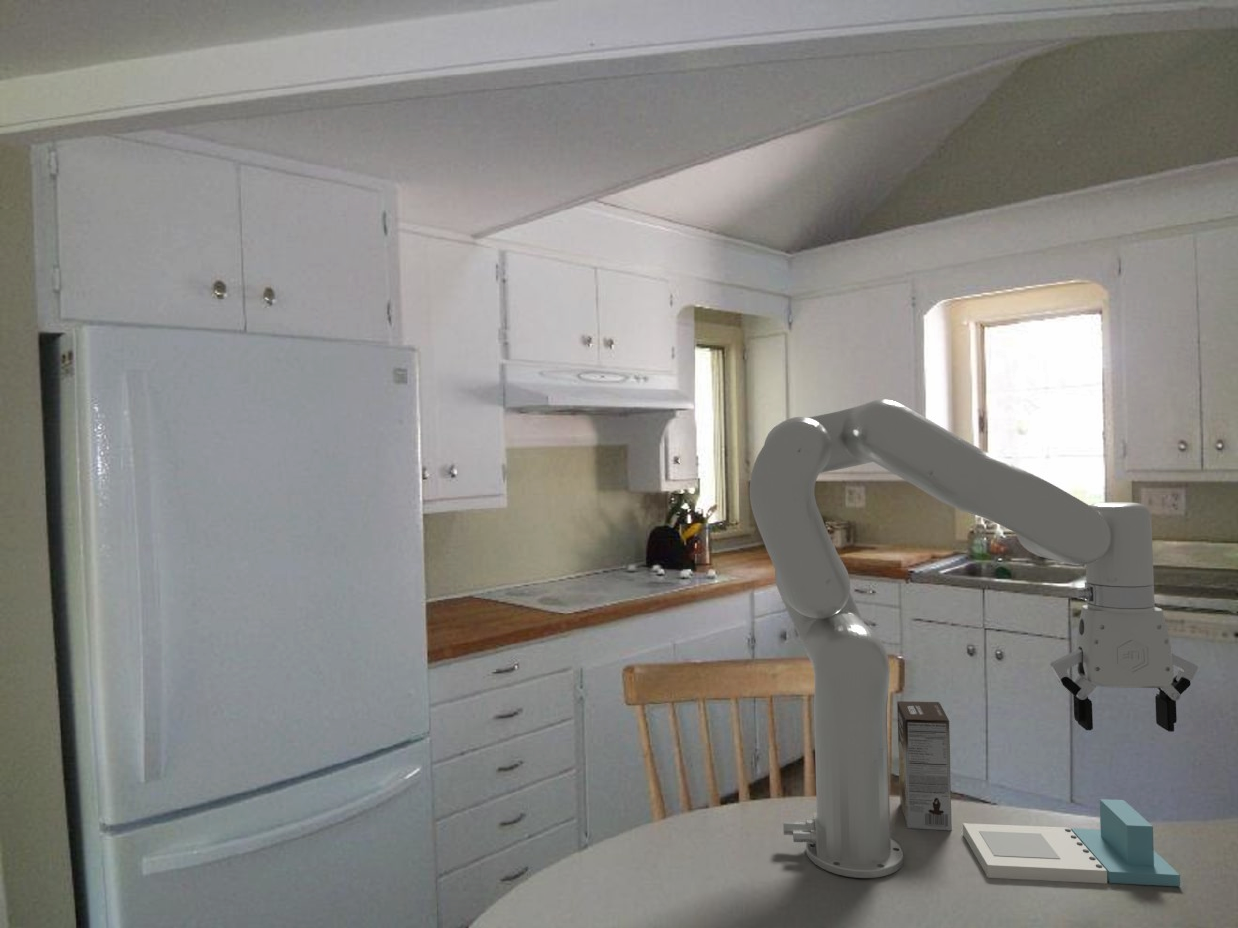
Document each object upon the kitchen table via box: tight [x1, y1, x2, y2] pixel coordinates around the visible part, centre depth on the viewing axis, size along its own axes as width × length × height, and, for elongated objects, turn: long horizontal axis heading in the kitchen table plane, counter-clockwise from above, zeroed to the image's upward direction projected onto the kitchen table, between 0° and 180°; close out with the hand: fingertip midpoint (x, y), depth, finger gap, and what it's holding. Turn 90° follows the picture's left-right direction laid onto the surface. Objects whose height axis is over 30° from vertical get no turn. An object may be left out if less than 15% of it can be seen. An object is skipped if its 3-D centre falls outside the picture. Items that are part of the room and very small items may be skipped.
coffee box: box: [896, 700, 953, 832], centre depth 121 cm, size 9×6×16 cm
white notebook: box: [962, 822, 1108, 884], centre depth 108 cm, size 14×12×2 cm
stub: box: [1070, 798, 1181, 887], centre depth 106 cm, size 8×12×6 cm, turn 171°
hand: (1124, 727), depth 106 cm, fingers open, 9 cm apart
